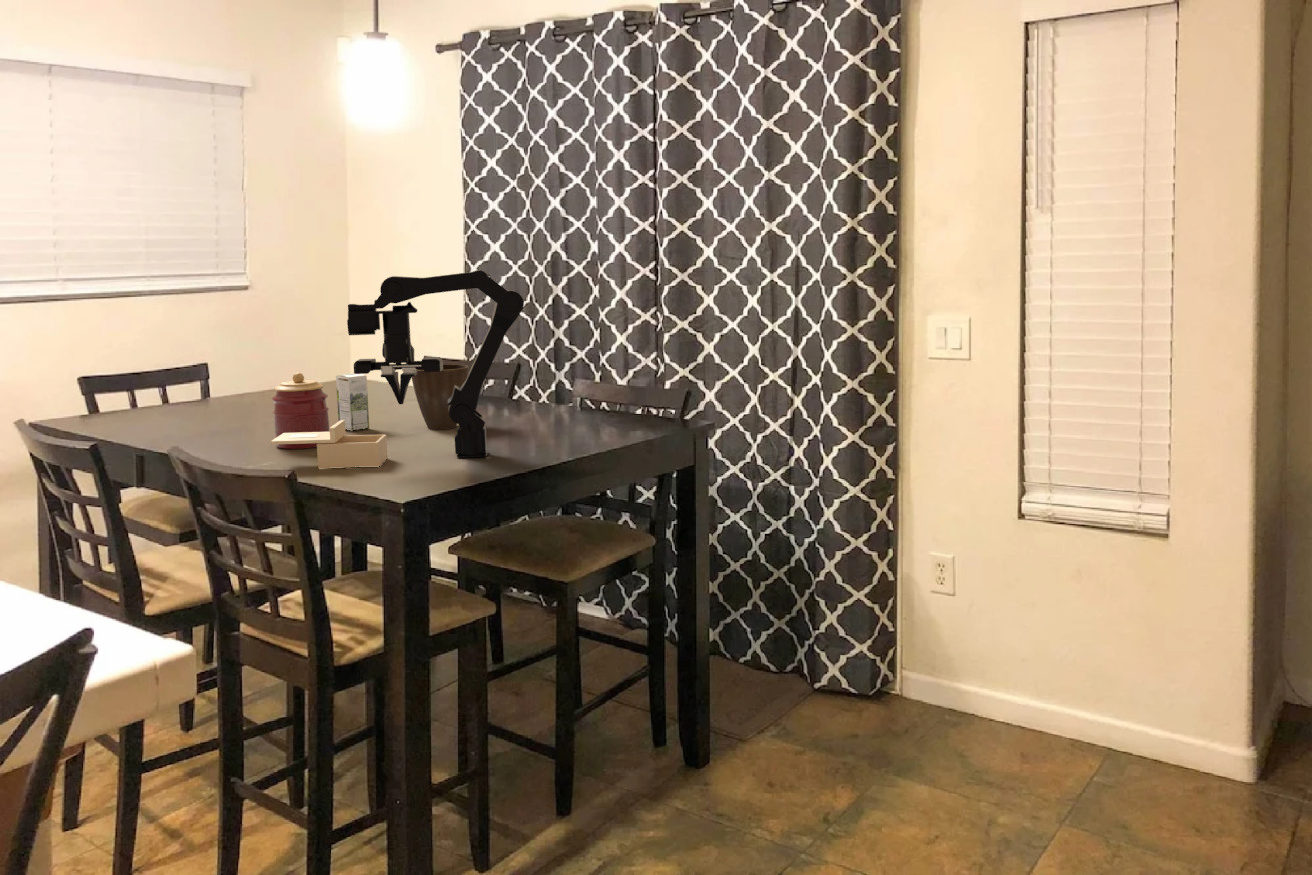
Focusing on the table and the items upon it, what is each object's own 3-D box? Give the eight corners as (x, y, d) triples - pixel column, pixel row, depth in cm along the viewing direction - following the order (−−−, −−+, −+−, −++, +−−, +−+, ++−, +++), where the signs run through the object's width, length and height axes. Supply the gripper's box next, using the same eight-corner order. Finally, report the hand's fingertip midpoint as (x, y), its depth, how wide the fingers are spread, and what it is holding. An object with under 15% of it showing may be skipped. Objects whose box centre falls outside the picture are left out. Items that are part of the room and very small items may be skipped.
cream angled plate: (345, 434, 247) (344, 420, 246) (335, 442, 236) (334, 427, 236) (283, 436, 246) (282, 421, 245) (270, 444, 235) (269, 429, 235)
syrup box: (356, 426, 293) (353, 372, 290) (370, 428, 289) (366, 374, 286) (338, 429, 288) (334, 375, 286) (352, 432, 285) (348, 376, 282)
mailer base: (387, 458, 248) (386, 434, 247) (379, 467, 238) (377, 442, 237) (329, 460, 247) (327, 436, 246) (318, 469, 237) (316, 444, 236)
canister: (263, 448, 264) (257, 375, 261) (298, 439, 276) (293, 369, 273) (308, 450, 259) (303, 376, 256) (342, 441, 271) (337, 370, 268)
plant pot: (424, 422, 297) (421, 363, 294) (478, 422, 295) (475, 363, 292) (405, 432, 283) (401, 370, 280) (460, 432, 281) (457, 370, 278)
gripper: (444, 330, 250) (447, 398, 253) (361, 332, 249) (365, 400, 252) (437, 334, 239) (441, 405, 242) (350, 336, 238) (355, 407, 241)
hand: (401, 404), depth 244 cm, fingers closed
